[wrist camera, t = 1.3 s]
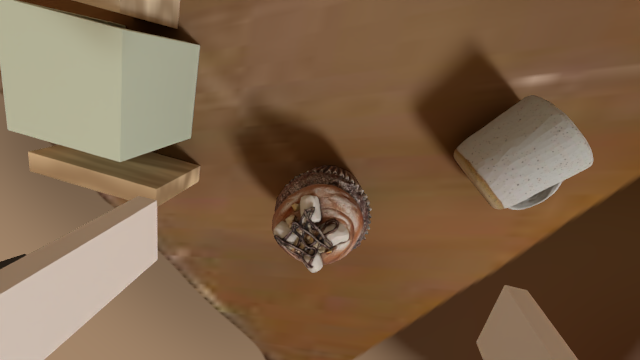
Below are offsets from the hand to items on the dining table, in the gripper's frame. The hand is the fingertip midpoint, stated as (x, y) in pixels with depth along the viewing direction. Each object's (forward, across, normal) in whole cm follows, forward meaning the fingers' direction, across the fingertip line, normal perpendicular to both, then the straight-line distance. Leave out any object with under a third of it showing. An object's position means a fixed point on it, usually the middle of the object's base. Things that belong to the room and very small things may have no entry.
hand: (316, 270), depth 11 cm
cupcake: (+22, -1, -7) cm, 24 cm away
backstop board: (+22, -23, -7) cm, 33 cm away
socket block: (+22, -22, +2) cm, 32 cm away
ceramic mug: (+23, +16, +2) cm, 28 cm away
